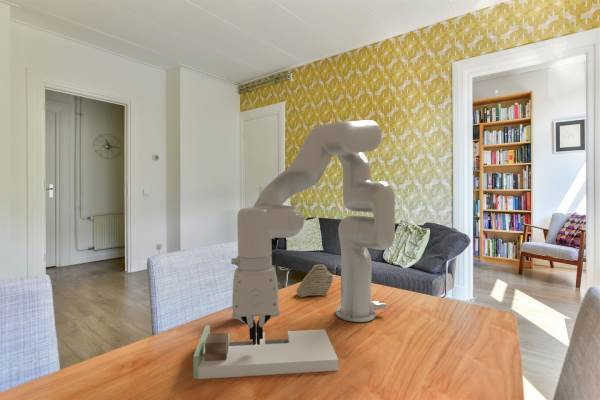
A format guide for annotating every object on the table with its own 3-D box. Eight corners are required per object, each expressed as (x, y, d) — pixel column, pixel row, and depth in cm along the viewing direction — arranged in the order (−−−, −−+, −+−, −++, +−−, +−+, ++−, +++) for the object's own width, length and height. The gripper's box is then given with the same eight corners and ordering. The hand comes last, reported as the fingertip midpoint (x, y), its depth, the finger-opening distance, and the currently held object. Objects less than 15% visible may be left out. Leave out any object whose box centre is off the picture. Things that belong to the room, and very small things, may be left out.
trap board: (324, 338, 85) (324, 320, 85) (338, 370, 70) (338, 348, 70) (205, 344, 82) (205, 325, 81) (193, 379, 67) (193, 356, 67)
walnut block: (228, 349, 74) (228, 332, 74) (226, 360, 70) (226, 342, 69) (208, 350, 74) (208, 333, 73) (205, 361, 69) (204, 343, 69)
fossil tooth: (295, 296, 122) (331, 289, 127) (300, 301, 116) (337, 293, 121) (292, 266, 122) (328, 260, 126) (297, 270, 116) (335, 263, 120)
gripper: (218, 268, 67) (220, 353, 68) (289, 265, 69) (290, 348, 70) (223, 259, 75) (224, 336, 76) (286, 257, 76) (287, 332, 77)
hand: (256, 341), depth 73 cm, fingers closed
